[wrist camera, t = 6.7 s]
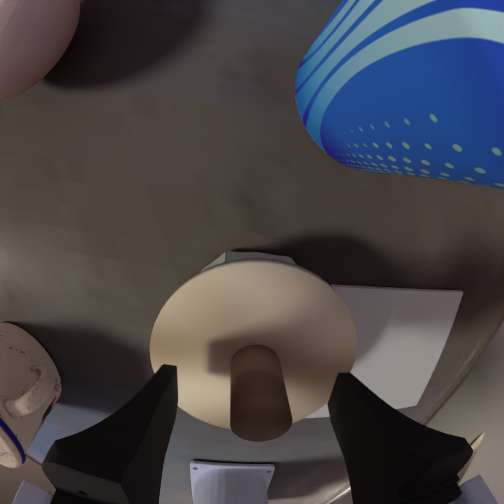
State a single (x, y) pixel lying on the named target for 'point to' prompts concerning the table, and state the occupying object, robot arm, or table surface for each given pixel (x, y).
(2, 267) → the table surface
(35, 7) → the decorative fruit
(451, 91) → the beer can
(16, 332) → the teacup with lid
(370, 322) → the mat
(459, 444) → the robot arm
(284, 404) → the lid
